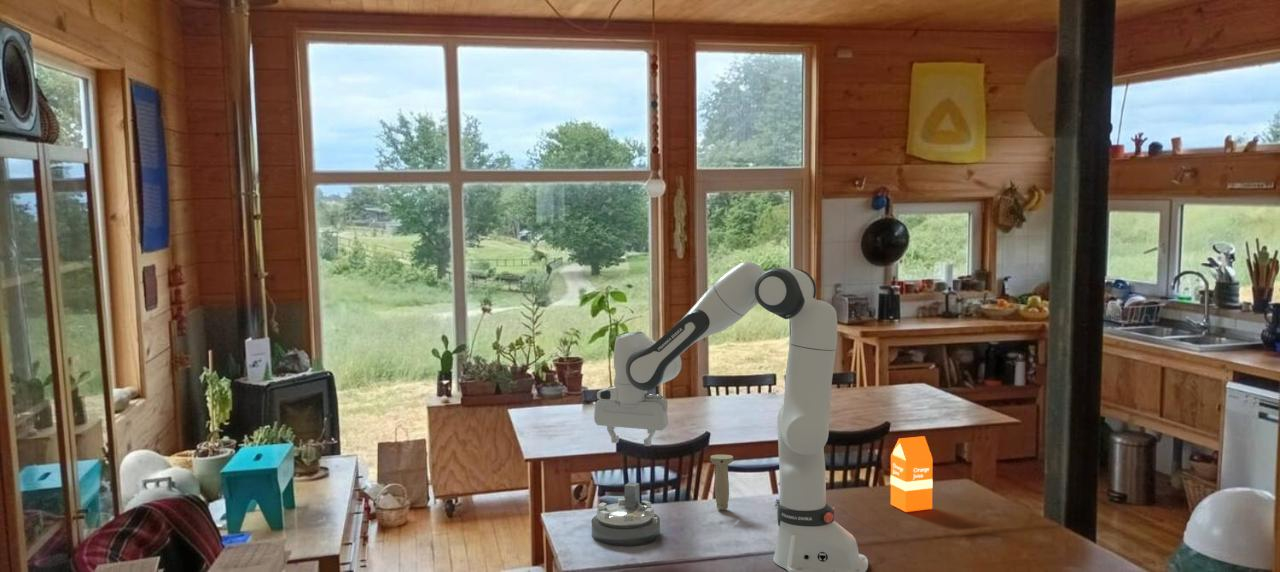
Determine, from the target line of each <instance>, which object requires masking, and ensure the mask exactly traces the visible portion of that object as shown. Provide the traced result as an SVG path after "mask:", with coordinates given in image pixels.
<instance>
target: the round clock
mask: <svg viewBox="0 0 1280 572" xmlns="http://www.w3.org/2000/svg"><path fill="white" fill-rule="evenodd" d="M640 500H641V499H640V483H638V482H628V483H627V482H626V484H624V498H623V497H622V498H618V499H617V503H616V502H615V503H610V504H607V502H601V503H599V504H597V511H596V515H597V521H598V522H599V523H600V524H602V525H604V526H607V527H612V528H636V527H641V526H645V525H648V524H650V523H651V522H653V517H654V514H655V510H654V509H655V508H653V507H652V502H651V501H648V500H641V501H640Z"/></svg>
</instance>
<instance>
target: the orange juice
mask: <svg viewBox="0 0 1280 572" xmlns="http://www.w3.org/2000/svg"><path fill="white" fill-rule="evenodd" d="M933 469H934V468H933V456H932V452H931V451H930V447H929V445H928V442H927V439H926V436H924V435H923V436H922V435H921V436H911V437H910V436H909V437H902V438H901V437H899V438H898V440H897V442H896V444H895V446H894V448H893V451H892V452H891V454H890V505H891V506H893V507H896V508H897V509H898V510H901V511H903V512H905V513H908V512H909V513H910V512H916V511H924V510H932V509H933V488H934V487H933Z"/></svg>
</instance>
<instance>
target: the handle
mask: <svg viewBox="0 0 1280 572" xmlns="http://www.w3.org/2000/svg"><path fill="white" fill-rule="evenodd" d="M710 462H711V463H713V464H715V484H714V493H715V495H714V496H715V501H716V509H718V510H727V509H728V508H729V507H728V506H729V500H730V499H729V498H730V496H729V495H730V483H729V465H730V464H732V463H733V462H734V456H733V455H731V454H712V455H710Z"/></svg>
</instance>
